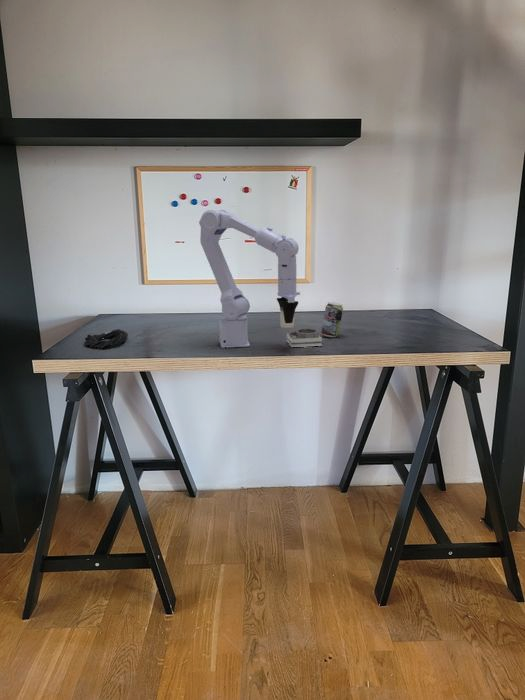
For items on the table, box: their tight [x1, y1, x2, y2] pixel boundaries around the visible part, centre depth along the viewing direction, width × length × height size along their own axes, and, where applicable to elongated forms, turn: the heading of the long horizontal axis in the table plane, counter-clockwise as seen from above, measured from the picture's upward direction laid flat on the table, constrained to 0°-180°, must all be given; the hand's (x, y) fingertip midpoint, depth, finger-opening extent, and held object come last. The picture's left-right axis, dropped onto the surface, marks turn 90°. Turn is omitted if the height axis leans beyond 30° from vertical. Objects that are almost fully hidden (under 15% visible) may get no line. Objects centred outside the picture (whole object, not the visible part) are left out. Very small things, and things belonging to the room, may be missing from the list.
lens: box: [279, 306, 295, 329], centre depth 163 cm, size 5×5×6 cm
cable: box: [84, 328, 129, 350], centre depth 175 cm, size 17×14×4 cm
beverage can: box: [321, 301, 344, 338], centre depth 180 cm, size 6×7×12 cm
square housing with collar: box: [286, 327, 323, 348], centre depth 170 cm, size 10×8×4 cm
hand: (287, 321), depth 164 cm, fingers closed on lens, 4 cm apart
